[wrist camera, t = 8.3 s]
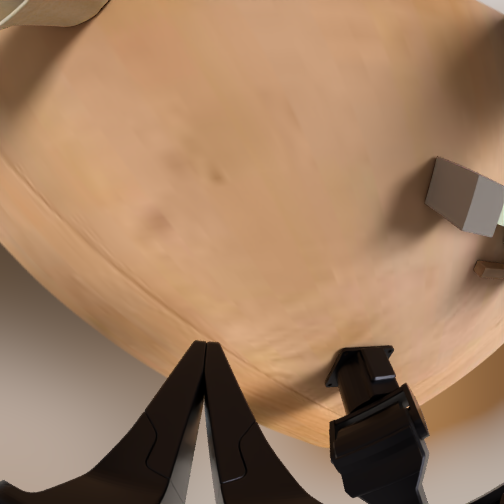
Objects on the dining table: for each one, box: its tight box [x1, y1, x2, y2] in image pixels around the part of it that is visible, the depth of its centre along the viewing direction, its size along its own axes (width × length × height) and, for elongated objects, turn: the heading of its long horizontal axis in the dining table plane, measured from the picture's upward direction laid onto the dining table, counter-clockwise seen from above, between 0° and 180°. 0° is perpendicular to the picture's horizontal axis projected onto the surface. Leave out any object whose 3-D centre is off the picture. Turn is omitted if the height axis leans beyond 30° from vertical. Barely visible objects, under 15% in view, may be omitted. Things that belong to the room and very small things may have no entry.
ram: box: [425, 156, 504, 244], centre depth 17 cm, size 8×15×5 cm, turn 83°
